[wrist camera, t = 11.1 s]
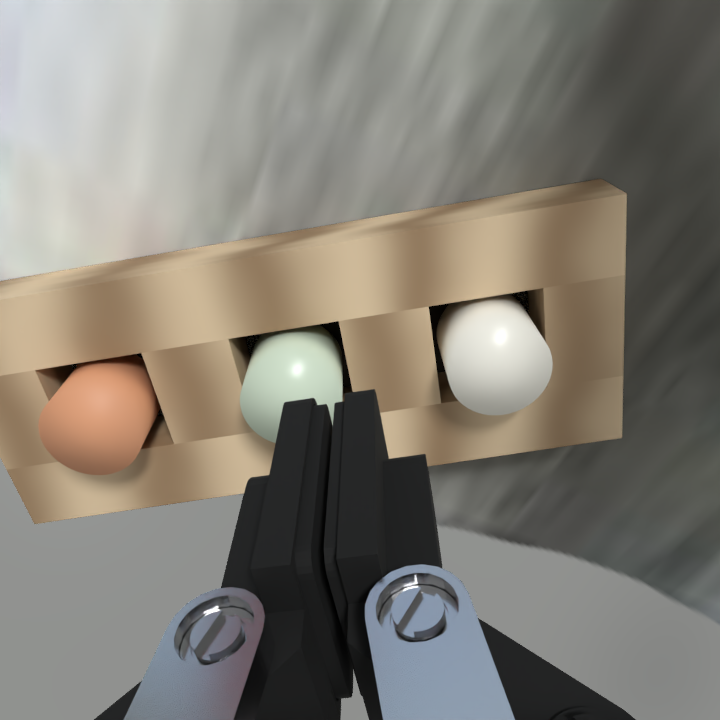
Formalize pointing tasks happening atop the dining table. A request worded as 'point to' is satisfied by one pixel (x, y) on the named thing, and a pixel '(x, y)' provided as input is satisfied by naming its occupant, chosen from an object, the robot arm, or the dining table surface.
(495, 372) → the white rounded dome
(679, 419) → the dining table surface
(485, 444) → the oak panel
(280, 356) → the pale green rounded knob
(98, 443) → the brown egg
